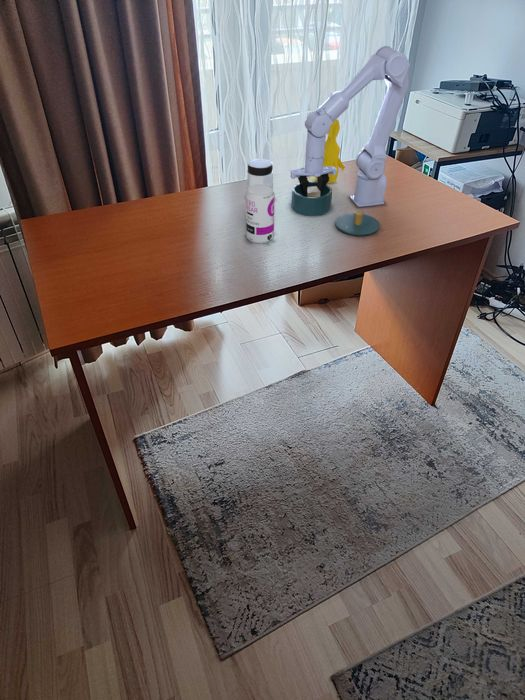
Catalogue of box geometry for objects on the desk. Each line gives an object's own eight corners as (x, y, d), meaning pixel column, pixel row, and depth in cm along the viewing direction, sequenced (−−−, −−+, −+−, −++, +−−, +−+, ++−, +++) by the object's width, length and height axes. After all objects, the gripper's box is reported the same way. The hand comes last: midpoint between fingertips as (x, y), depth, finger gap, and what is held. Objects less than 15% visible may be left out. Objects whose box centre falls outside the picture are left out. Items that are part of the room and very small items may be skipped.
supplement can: (277, 233, 144) (278, 185, 133) (268, 246, 138) (269, 197, 128) (252, 229, 146) (251, 181, 135) (242, 242, 140) (241, 193, 130)
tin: (323, 196, 162) (324, 179, 158) (335, 213, 153) (337, 196, 149) (287, 200, 160) (287, 183, 156) (297, 217, 151) (298, 200, 147)
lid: (353, 212, 154) (355, 199, 151) (388, 226, 147) (390, 213, 144) (326, 226, 147) (327, 212, 144) (361, 242, 140) (363, 228, 137)
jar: (258, 206, 157) (258, 170, 149) (242, 198, 161) (241, 163, 153) (277, 198, 162) (278, 163, 153) (261, 191, 166) (261, 156, 158)
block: (315, 198, 157) (316, 186, 155) (319, 203, 154) (320, 191, 152) (303, 199, 157) (304, 187, 154) (307, 205, 154) (308, 192, 151)
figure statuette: (340, 174, 177) (348, 110, 162) (351, 182, 171) (360, 117, 157) (298, 181, 172) (301, 117, 157) (307, 190, 166) (312, 124, 151)
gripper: (295, 162, 141) (293, 205, 150) (341, 158, 144) (336, 200, 153) (289, 153, 146) (287, 195, 156) (333, 150, 149) (329, 191, 158)
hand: (311, 197), depth 155 cm, fingers closed on block, 4 cm apart
